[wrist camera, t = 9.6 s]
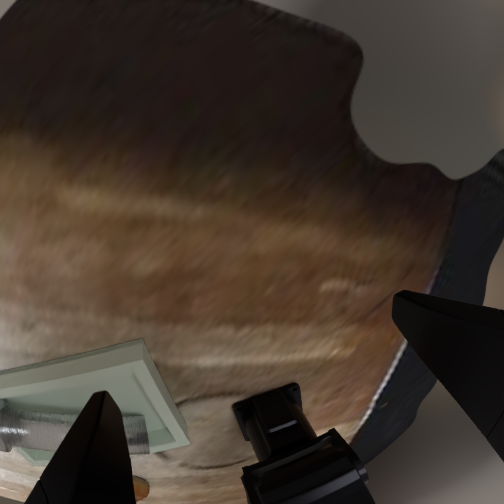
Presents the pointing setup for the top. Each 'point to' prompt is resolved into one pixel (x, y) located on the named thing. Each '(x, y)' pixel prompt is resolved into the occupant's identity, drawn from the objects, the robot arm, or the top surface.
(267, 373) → the top surface
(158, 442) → the tray
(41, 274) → the top surface
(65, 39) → the top surface
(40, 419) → the pin
